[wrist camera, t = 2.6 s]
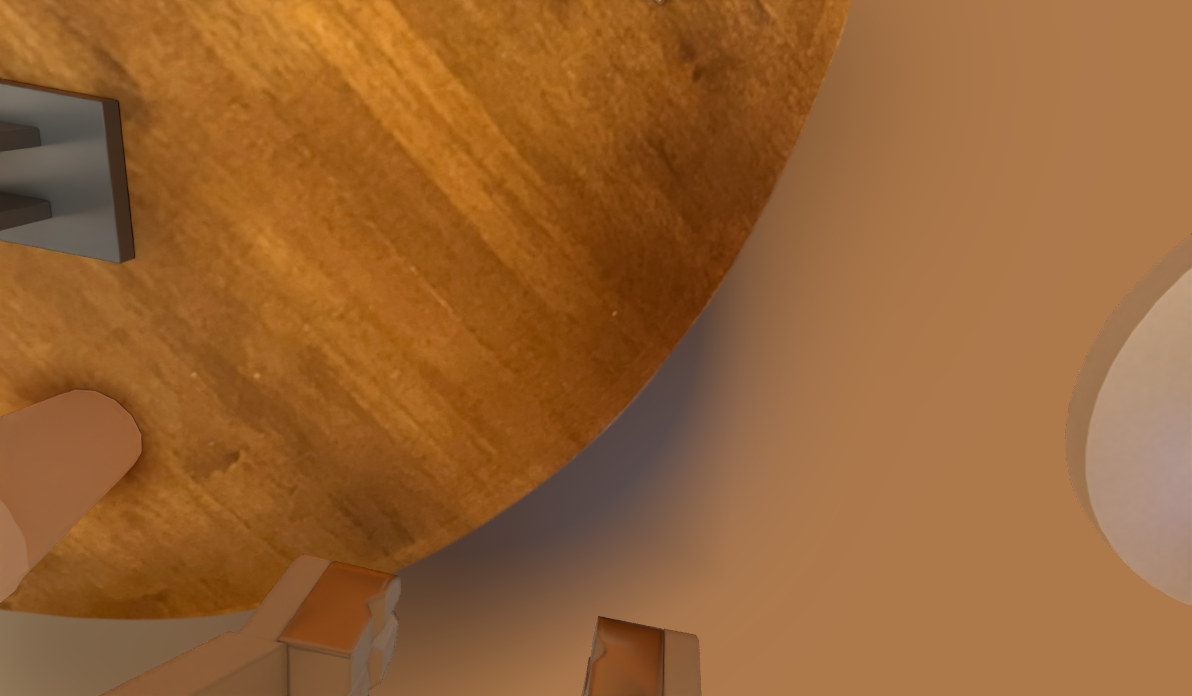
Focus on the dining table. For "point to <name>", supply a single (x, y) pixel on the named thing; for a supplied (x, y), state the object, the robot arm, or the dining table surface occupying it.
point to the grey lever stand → (63, 173)
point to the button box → (660, 1)
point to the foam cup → (57, 472)
